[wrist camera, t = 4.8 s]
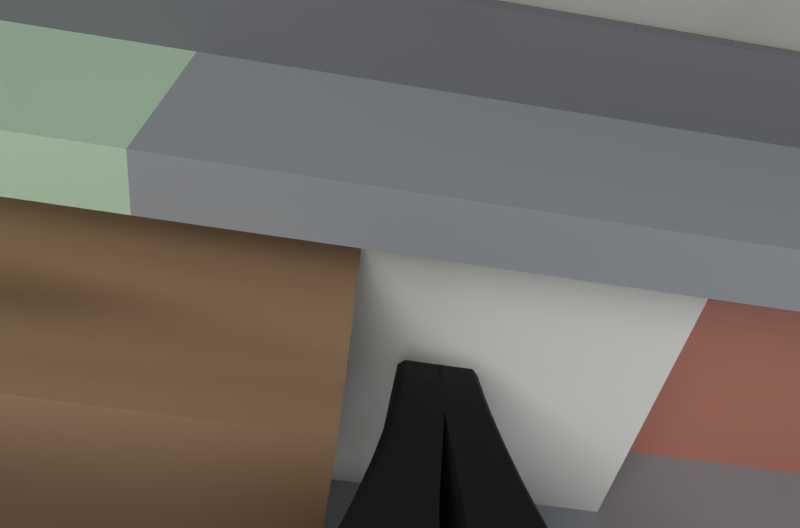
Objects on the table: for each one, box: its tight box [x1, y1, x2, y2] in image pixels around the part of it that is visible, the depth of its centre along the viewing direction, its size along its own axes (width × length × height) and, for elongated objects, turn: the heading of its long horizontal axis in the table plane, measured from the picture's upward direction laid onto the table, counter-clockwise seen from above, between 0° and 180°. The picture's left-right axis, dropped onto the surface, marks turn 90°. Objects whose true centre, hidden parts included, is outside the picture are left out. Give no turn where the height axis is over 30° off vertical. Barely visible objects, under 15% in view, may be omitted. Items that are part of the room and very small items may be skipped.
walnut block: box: [0, 196, 361, 528], centre depth 11 cm, size 5×6×4 cm
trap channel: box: [0, 0, 800, 528], centre depth 13 cm, size 12×32×4 cm, turn 81°
